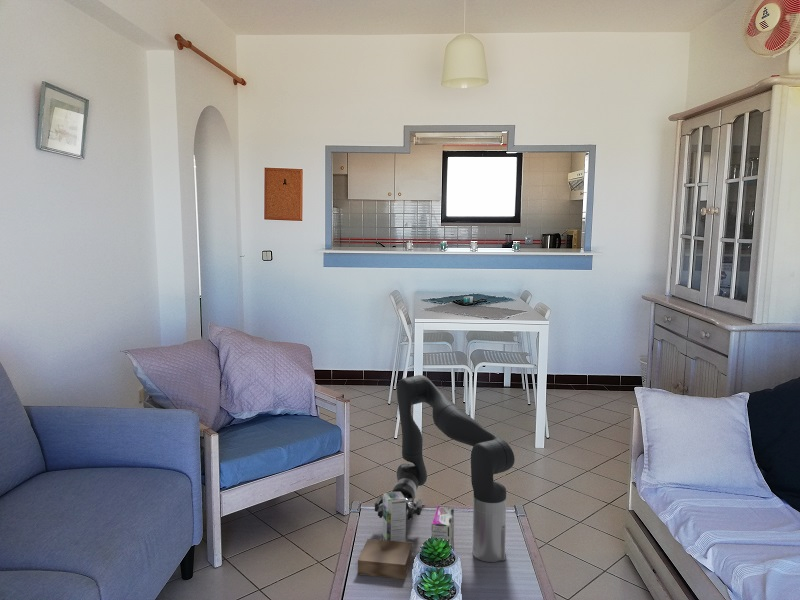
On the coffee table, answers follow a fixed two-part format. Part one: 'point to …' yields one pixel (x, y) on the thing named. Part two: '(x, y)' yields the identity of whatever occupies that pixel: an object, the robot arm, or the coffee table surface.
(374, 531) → the coffee table surface
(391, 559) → the walnut riser
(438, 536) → the candy bar box
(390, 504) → the syrup box
